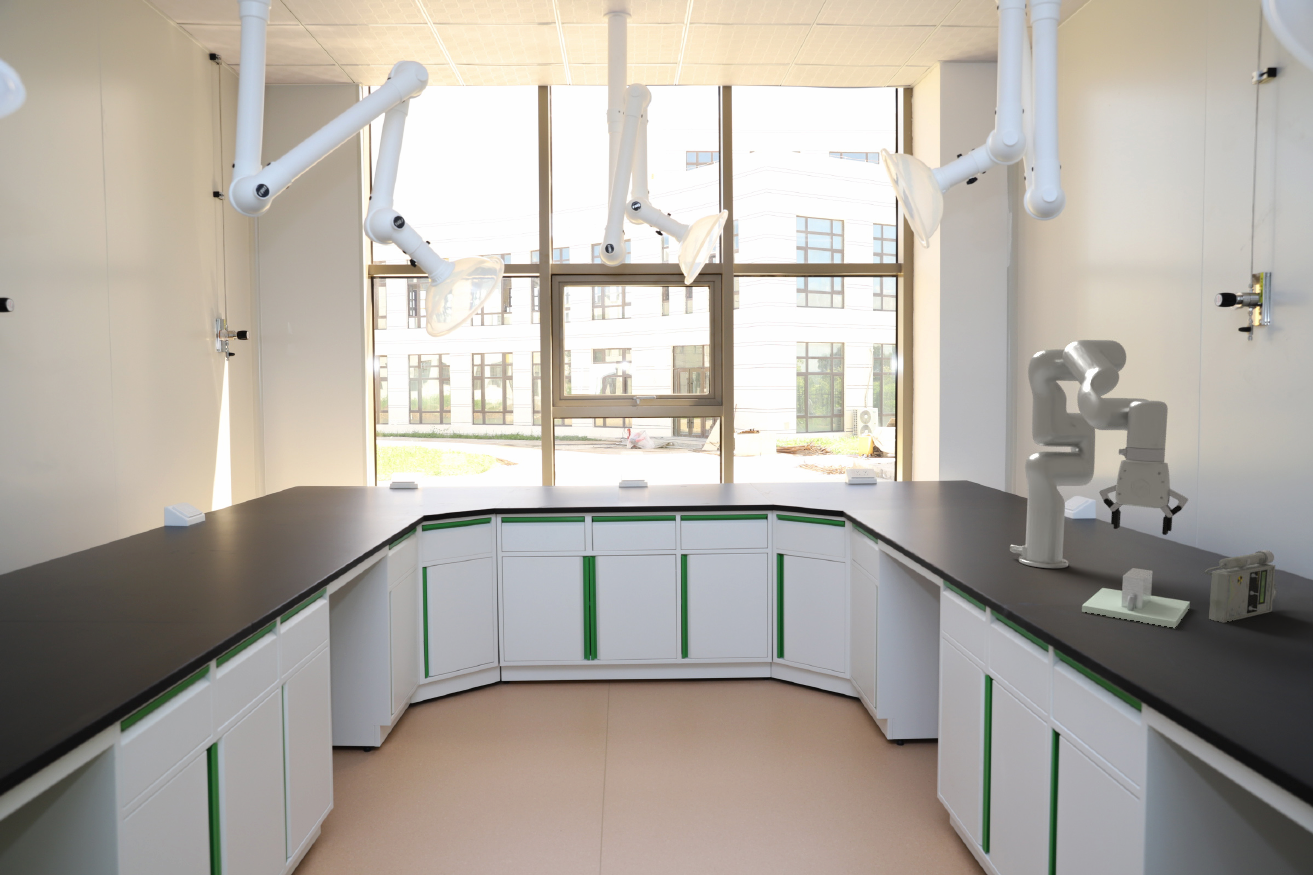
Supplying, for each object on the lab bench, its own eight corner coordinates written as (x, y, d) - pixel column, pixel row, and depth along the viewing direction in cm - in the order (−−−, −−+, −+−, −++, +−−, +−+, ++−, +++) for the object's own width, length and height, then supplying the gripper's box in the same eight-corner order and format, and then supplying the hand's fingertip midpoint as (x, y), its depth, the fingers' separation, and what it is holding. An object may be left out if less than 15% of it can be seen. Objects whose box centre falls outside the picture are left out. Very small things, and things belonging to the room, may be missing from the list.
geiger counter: (1232, 560, 176) (1294, 550, 188) (1201, 554, 182) (1263, 544, 194) (1227, 624, 178) (1289, 609, 189) (1197, 616, 183) (1258, 602, 195)
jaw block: (1121, 606, 185) (1123, 575, 185) (1131, 597, 193) (1132, 567, 192) (1141, 609, 183) (1143, 578, 182) (1150, 600, 190) (1152, 570, 189)
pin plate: (1081, 611, 186) (1082, 592, 185) (1102, 593, 201) (1103, 575, 201) (1175, 628, 174) (1176, 607, 174) (1189, 608, 190) (1190, 588, 189)
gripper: (1098, 454, 188) (1094, 528, 189) (1187, 460, 176) (1182, 539, 178) (1105, 451, 193) (1101, 523, 195) (1193, 457, 182) (1188, 533, 184)
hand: (1140, 530), depth 186 cm, fingers open, 9 cm apart
